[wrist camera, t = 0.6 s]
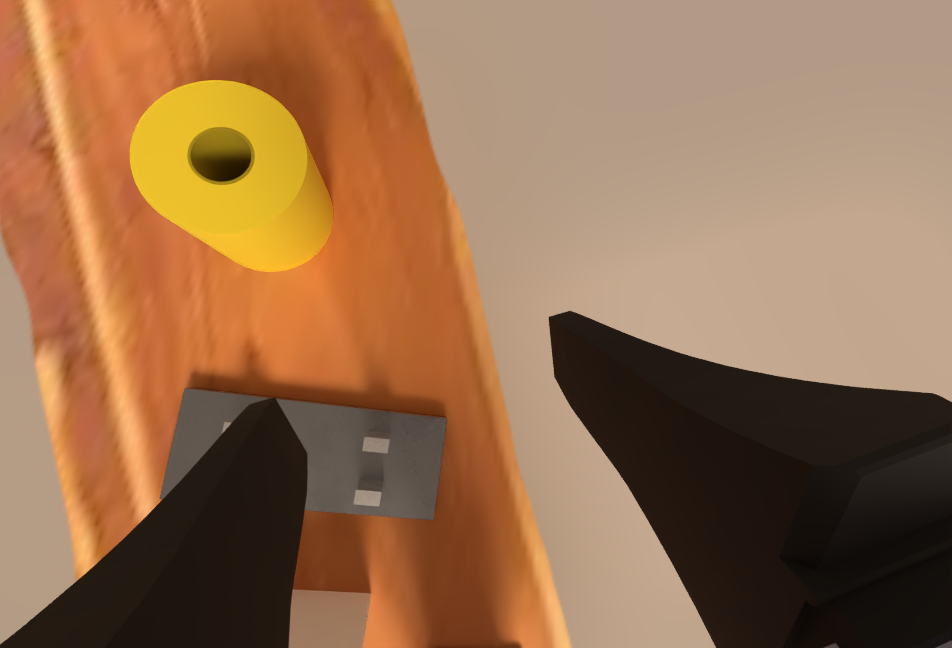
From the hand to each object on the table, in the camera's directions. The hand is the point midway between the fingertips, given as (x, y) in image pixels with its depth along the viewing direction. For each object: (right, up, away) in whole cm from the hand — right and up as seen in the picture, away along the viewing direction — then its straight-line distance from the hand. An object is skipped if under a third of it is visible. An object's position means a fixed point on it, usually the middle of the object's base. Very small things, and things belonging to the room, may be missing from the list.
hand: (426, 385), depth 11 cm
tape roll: (-16, +11, +24) cm, 31 cm away
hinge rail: (-12, -9, +22) cm, 26 cm away
